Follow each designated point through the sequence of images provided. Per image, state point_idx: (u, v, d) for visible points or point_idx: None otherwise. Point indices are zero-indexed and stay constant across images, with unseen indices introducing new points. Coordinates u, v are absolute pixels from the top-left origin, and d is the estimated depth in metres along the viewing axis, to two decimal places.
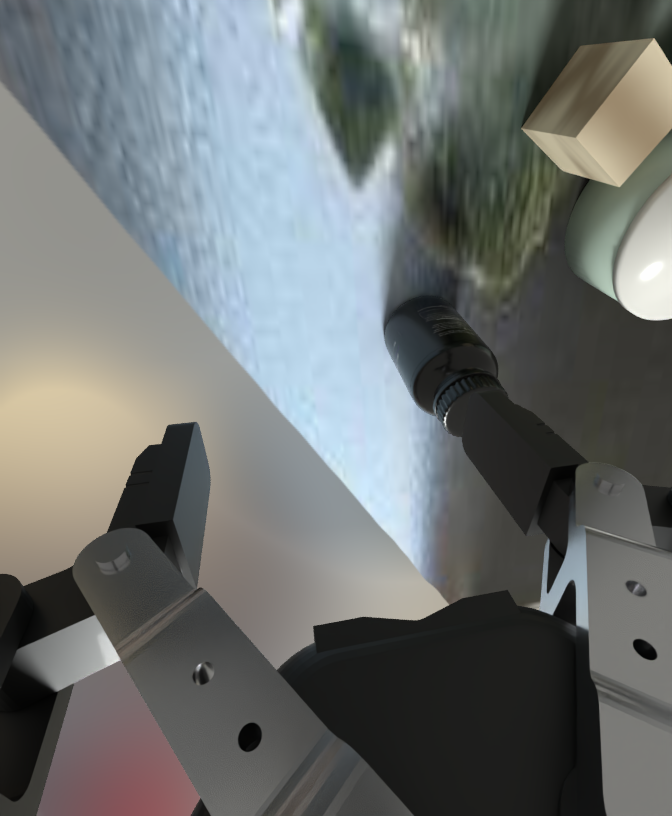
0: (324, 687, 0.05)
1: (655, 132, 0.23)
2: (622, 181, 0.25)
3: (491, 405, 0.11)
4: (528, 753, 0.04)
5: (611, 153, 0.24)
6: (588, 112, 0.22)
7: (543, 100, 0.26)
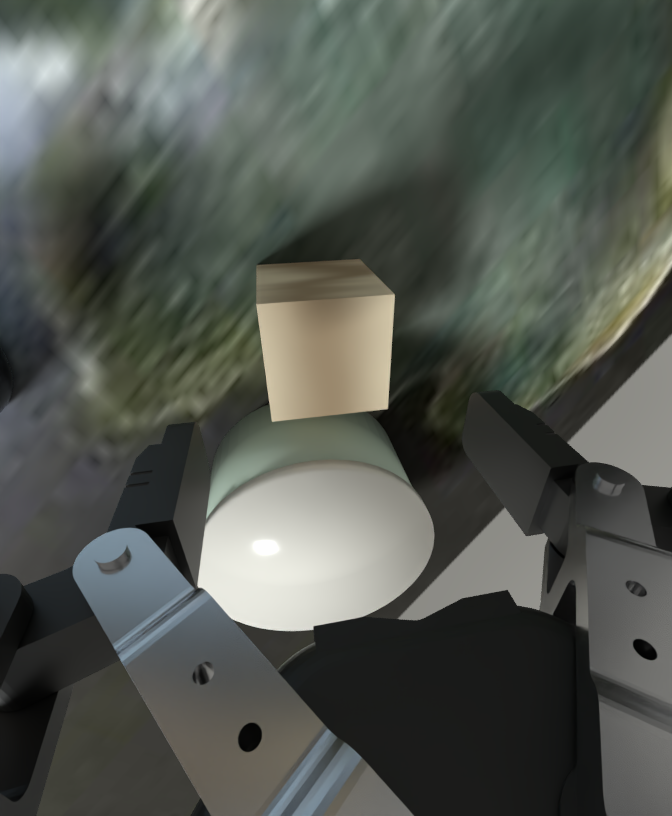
0: (324, 687, 0.05)
1: (339, 399, 0.16)
2: (278, 418, 0.16)
3: (491, 405, 0.11)
4: (528, 754, 0.04)
5: (285, 373, 0.15)
6: (293, 296, 0.14)
7: (295, 264, 0.19)
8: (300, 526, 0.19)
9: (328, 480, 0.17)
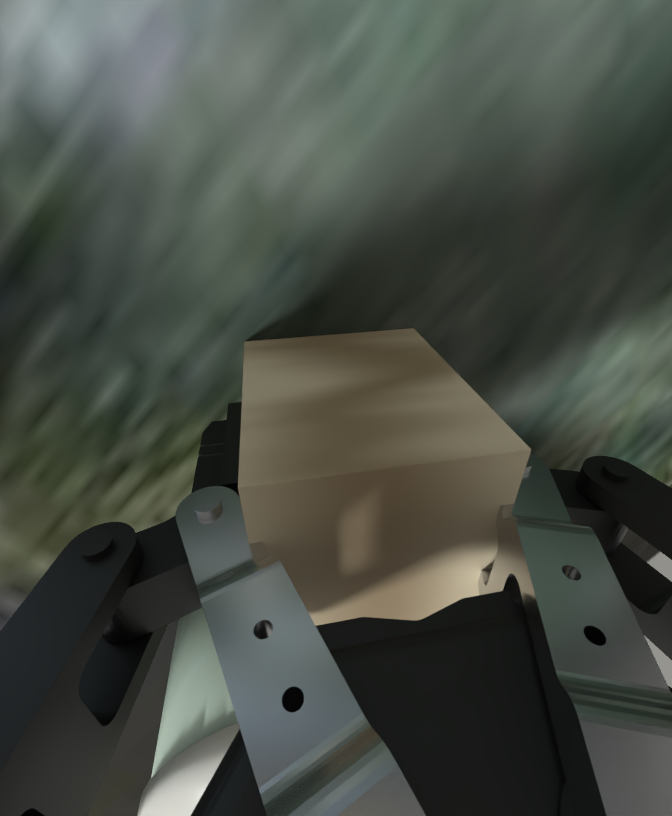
0: None
1: (397, 611, 0.09)
2: None
3: None
4: (519, 784, 0.04)
5: (297, 587, 0.08)
6: (318, 453, 0.07)
7: (309, 340, 0.11)
8: None
9: None
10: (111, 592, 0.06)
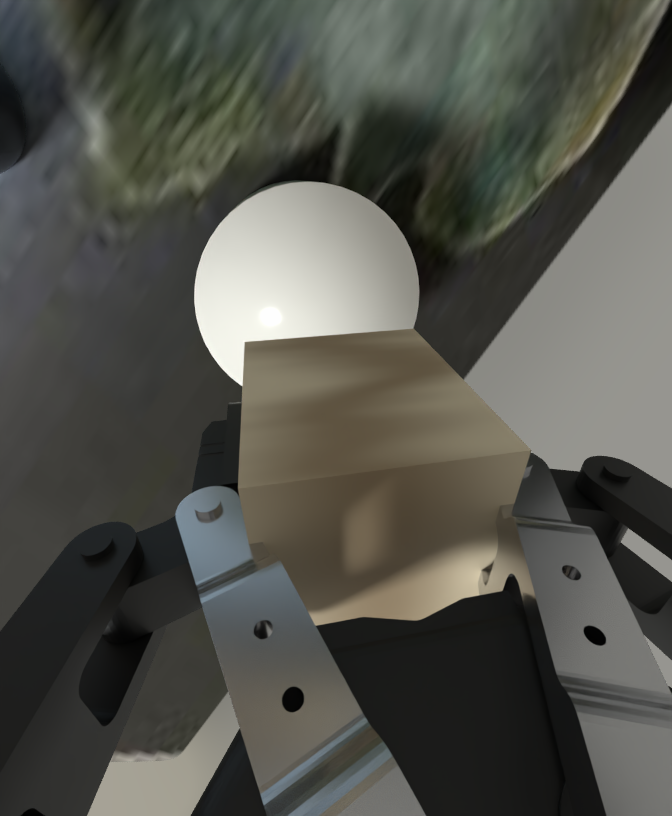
0: None
1: (397, 611, 0.09)
2: None
3: None
4: (519, 785, 0.04)
5: (297, 588, 0.08)
6: (318, 454, 0.07)
7: (309, 340, 0.11)
8: (295, 255, 0.20)
9: (322, 195, 0.19)
10: (111, 593, 0.06)
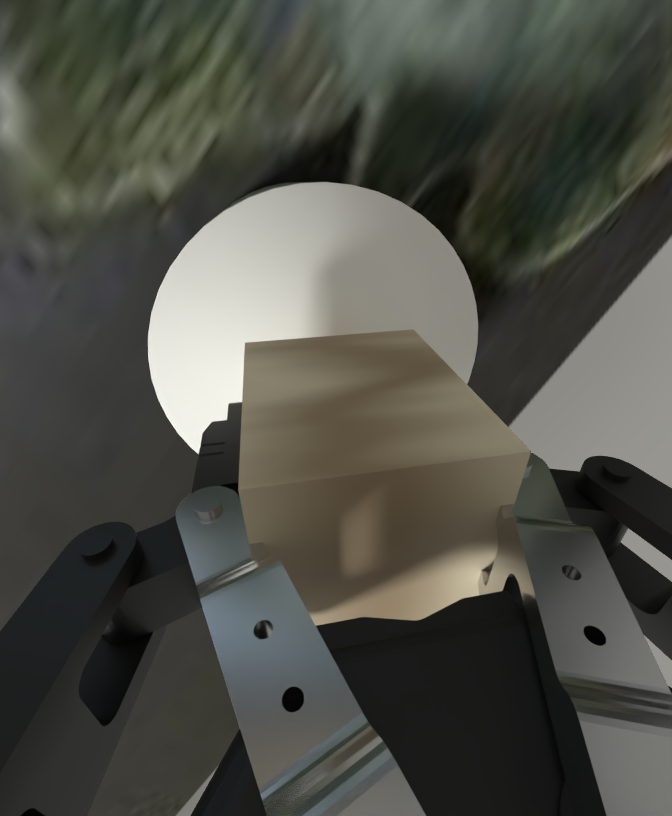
0: None
1: (397, 612, 0.09)
2: None
3: None
4: (519, 784, 0.04)
5: (298, 588, 0.08)
6: (318, 455, 0.07)
7: (309, 341, 0.11)
8: (302, 293, 0.13)
9: (346, 204, 0.12)
10: (111, 593, 0.06)
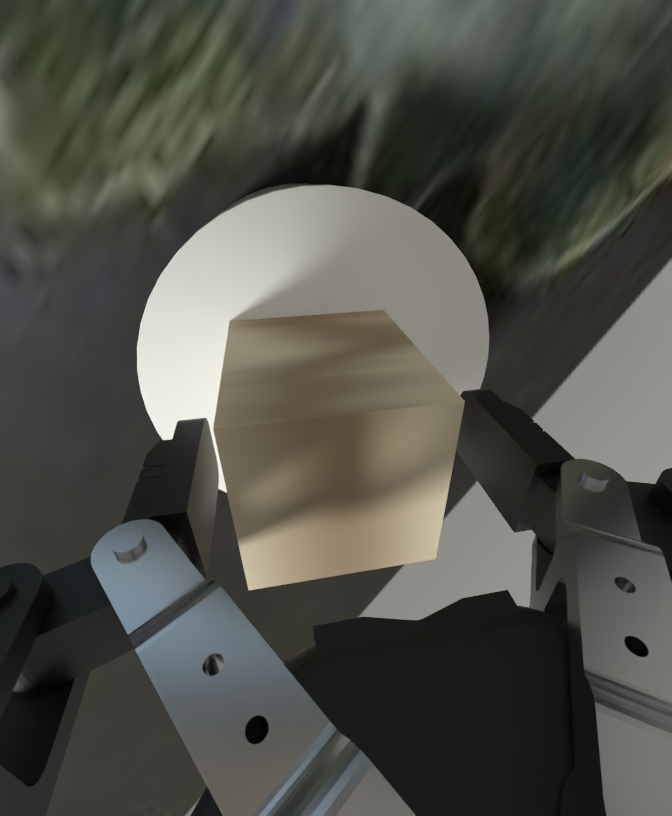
0: (324, 687, 0.05)
1: (360, 553, 0.10)
2: (259, 585, 0.10)
3: (481, 403, 0.11)
4: (526, 758, 0.04)
5: (269, 525, 0.09)
6: (283, 405, 0.08)
7: (287, 320, 0.12)
8: (303, 303, 0.12)
9: (352, 209, 0.11)
10: (18, 640, 0.06)
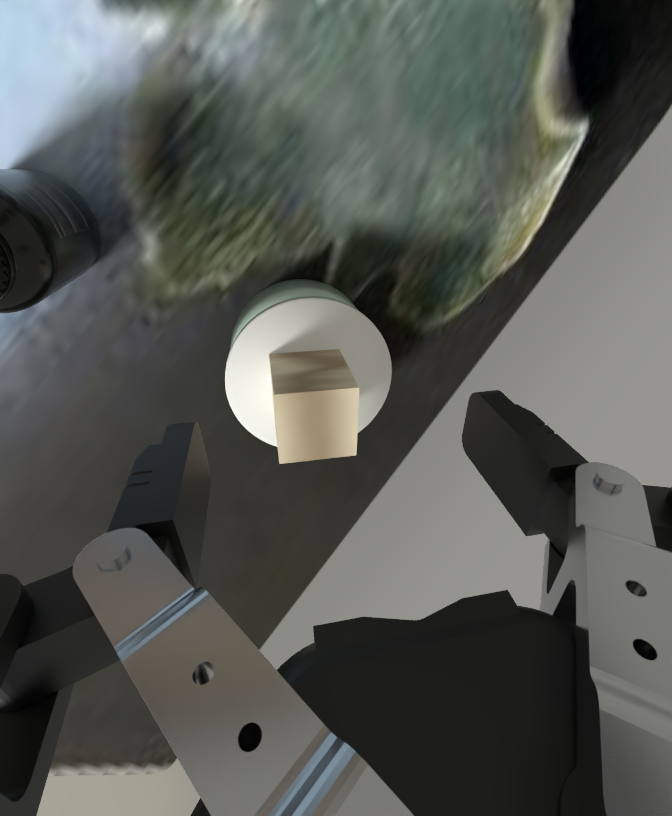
0: (324, 687, 0.05)
1: (324, 449, 0.25)
2: (284, 461, 0.25)
3: (491, 405, 0.11)
4: (528, 753, 0.04)
5: (289, 433, 0.24)
6: (296, 388, 0.23)
7: (295, 353, 0.27)
8: (301, 345, 0.28)
9: (323, 308, 0.26)
10: None
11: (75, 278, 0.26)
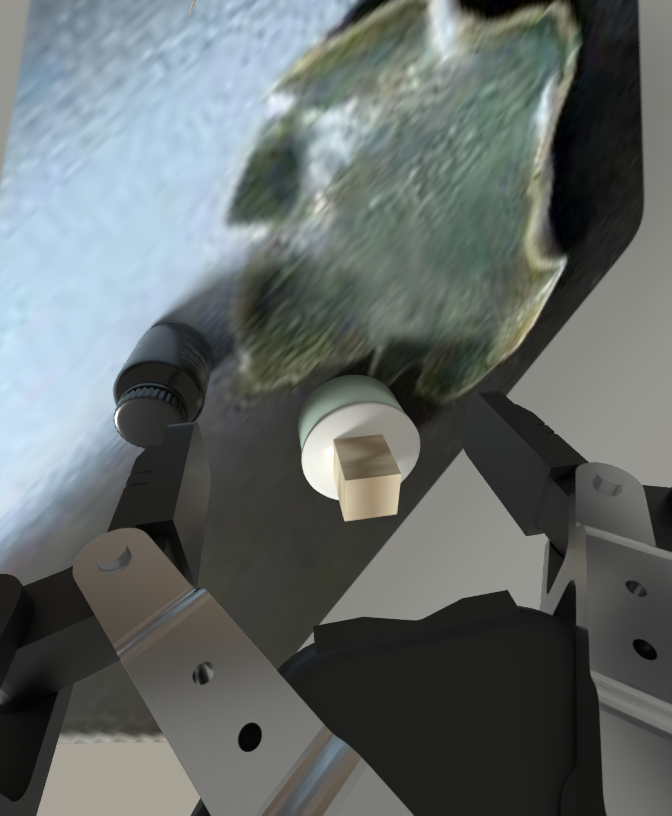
0: (324, 687, 0.05)
1: (375, 511, 0.36)
2: (347, 519, 0.36)
3: (491, 405, 0.11)
4: (528, 753, 0.04)
5: (353, 503, 0.35)
6: (359, 474, 0.34)
7: (351, 439, 0.39)
8: (356, 434, 0.39)
9: (373, 410, 0.38)
10: None
11: None
